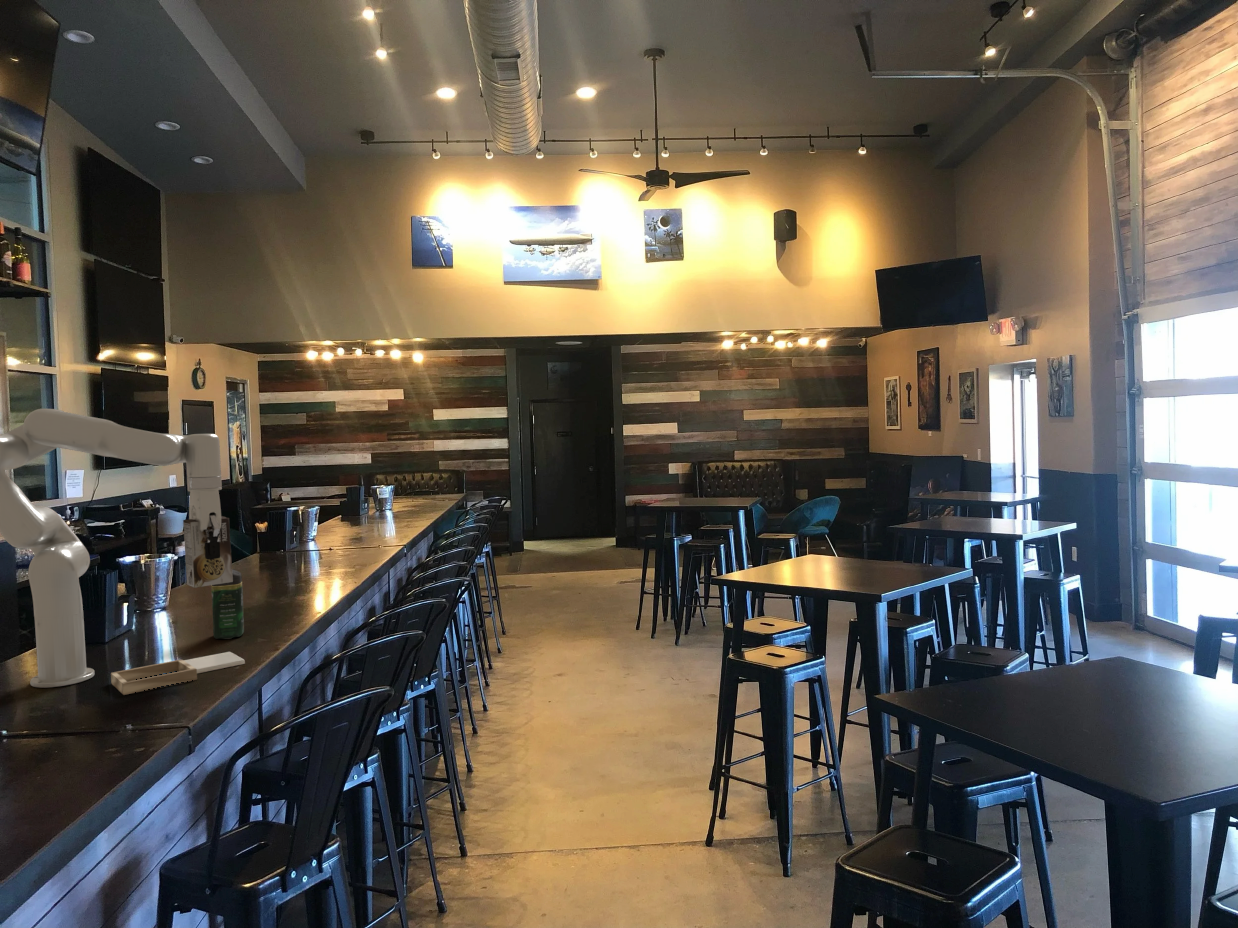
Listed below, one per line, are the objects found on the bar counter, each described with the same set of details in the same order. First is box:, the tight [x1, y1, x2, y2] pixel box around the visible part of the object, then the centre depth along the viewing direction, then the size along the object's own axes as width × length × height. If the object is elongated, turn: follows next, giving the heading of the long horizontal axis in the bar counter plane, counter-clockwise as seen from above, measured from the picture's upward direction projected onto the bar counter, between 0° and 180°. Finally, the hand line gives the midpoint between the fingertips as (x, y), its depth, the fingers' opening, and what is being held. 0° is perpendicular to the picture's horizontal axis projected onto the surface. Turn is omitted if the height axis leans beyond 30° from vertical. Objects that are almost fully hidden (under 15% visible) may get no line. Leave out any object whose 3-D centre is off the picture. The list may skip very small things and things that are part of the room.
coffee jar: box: [210, 568, 245, 640], centre depth 238 cm, size 10×8×19 cm
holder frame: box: [110, 658, 198, 696], centre depth 196 cm, size 12×15×2 cm
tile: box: [183, 651, 246, 674], centre depth 209 cm, size 11×11×1 cm
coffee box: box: [182, 515, 233, 589], centre depth 208 cm, size 9×6×16 cm
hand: (208, 556), depth 208 cm, fingers closed on coffee box, 6 cm apart
